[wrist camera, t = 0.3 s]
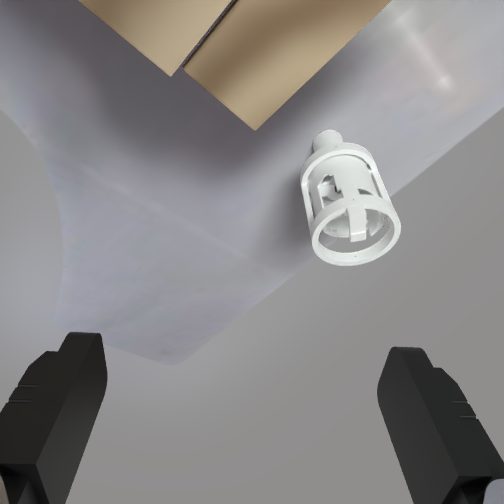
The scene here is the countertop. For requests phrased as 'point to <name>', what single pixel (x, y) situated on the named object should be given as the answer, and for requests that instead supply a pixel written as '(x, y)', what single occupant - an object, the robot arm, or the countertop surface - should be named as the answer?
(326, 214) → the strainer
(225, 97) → the carton
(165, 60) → the lid flap
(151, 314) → the countertop surface
